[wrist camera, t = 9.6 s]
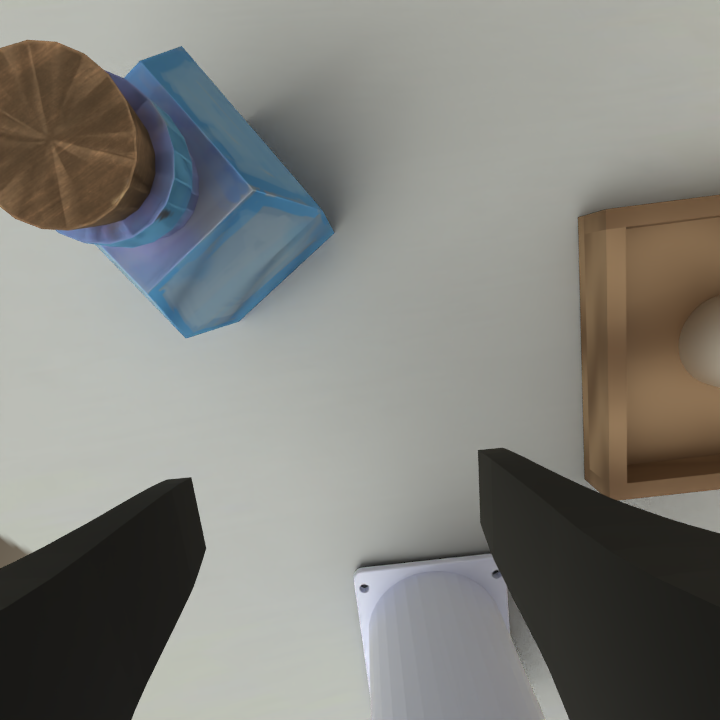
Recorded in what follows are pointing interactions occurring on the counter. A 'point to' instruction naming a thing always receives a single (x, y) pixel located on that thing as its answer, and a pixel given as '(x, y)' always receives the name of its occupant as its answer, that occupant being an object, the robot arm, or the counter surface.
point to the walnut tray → (647, 348)
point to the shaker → (702, 343)
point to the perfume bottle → (152, 179)
